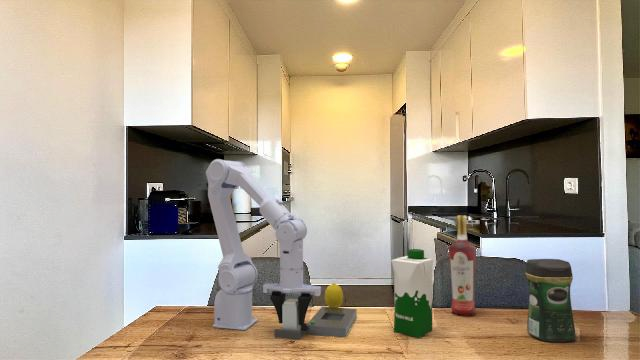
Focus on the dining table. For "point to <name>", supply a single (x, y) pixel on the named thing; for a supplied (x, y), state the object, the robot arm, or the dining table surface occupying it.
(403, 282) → the milk carton
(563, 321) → the coffee jar
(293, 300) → the plug
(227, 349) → the dining table surface
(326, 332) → the port panel
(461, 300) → the liquor
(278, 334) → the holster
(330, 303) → the lemon
